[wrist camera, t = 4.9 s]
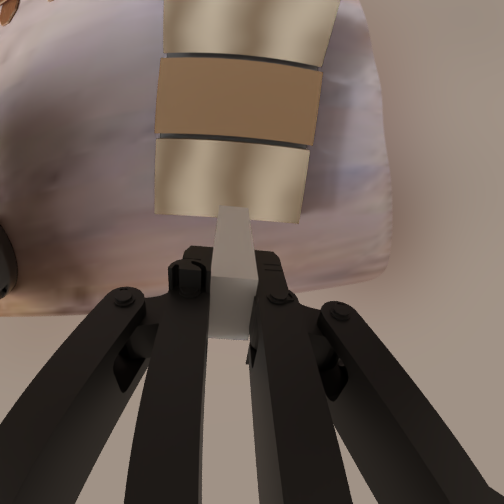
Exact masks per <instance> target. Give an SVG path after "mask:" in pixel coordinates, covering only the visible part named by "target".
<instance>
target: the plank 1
mask: <svg viewBox="0 0 504 504" xmlns="http://www.w3.org/2000/svg"><path fill="white" fill-rule="evenodd" d="M339 3H340V0H164V20H163V49H164V53H186V52H196V53H225V54H239V55H250V56H259V57H267V58H275V59H281V60H288V61H293V62H299V63H304V64H309V65H314V66H319V67H322V64H323V60H324V57H325V53H326V50H327V46H328V43H329V39H330V36H331V32H332V28H333V25H334V21H335V18H336V14H337V11H338V7H339Z"/></svg>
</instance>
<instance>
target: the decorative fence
mask: <svg viewBox="0 0 504 504" xmlns="http://www.w3.org/2000/svg"><path fill="white" fill-rule="evenodd" d="M48 1H49V2H51V1H53V0H48ZM2 4H3V6H2V9H1V13H0V23H1V26H5V25H7V24H8V23H10V21H11V19H12V18H13V16H14V14H15V12H16V11H17V8H18V4H19V0H0V6H1V5H2Z"/></svg>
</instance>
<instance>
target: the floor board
mask: <svg viewBox="0 0 504 504" xmlns="http://www.w3.org/2000/svg"><path fill="white" fill-rule="evenodd" d="M317 67H318V66H314V65H309V64H304V63H299V62H293V61H288V60H281V59H275V58H267V57H259V56H250V55H239V54H225V53H196V52H186V53H167V58H161V61H160V69H159V79H158V89H157V101H156V115H155V133H160V138H194V139H215V140H230V141H242V142H253V143H263V144H272V145H280V146H288V147H295V148H302V149H306V148H307V145H311V146H313V141H314V135H315V128H316V121H317V114H318V107H319V100H320V92H321V84H322V76H323V72H319V71H317Z"/></svg>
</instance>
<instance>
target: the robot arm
mask: <svg viewBox="0 0 504 504" xmlns="http://www.w3.org/2000/svg"><path fill="white" fill-rule="evenodd" d="M168 280H169V291H168V293H166V294H164V295H161V296H157V297H150V298H144V294H143V293H142V292H141V291H140V290H138V289H136V288H133V287H120V288H117V289H114V290H112V291H111V292H109V293H108V294H107V295H106V296H105V297H104V298H103V299H102V300H101V301H100V302H99V303H98V304H97V306H96V307H95V308H94V309H93V310H92V311H91V312H90V313H89V314H88V315H87V316H86V318H85V319H84V320H83V321H82V322H81V323H80V324H79V325H78V326H77V328H76V329H75V330H74V331H73V332H72V333H71V335H70V336H69V337H68V338H67V339H66V340H65V341H64V342H63V344H62V345H61V346H60V347H59V348H58V350H57V351H56V352H55V353H54V354H53V356H52V357H51V358H50V359H49V360H48V362H47V363H46V364H45V366H43V368H42V369H41V370H40V371H39V373H38V374H37V375H36V377H35V378H34V379H33V380H32V382H31V383H30V384H29V386H28V387H27V388H26V389H25V391H24V392H23V393H22V395H21V396H20V397H19V399H18V400H17V402H16V403H15V404H14V406H13V407H12V409H11V410H10V411H9V413H8V414H7V415H6V417H5V418H4V420H3V421H2V423H1V424H0V504H75V502H76V500H77V498H78V496H79V494H80V492H81V490H82V488H83V486H84V484H85V482H86V480H87V478H88V476H89V474H90V472H91V470H92V468H93V466H94V465H95V463H96V461H97V459H98V457H99V455H100V453H101V451H102V449H103V447H104V445H105V443H106V442H107V440H108V438H109V436H110V434H111V432H112V430H113V429H114V427H115V425H116V423H117V421H118V419H119V417H120V416H121V414H122V412H123V410H124V408H125V406H126V405H127V403H128V401H129V399H130V398H131V396H132V394H133V392H134V390H135V389H136V387H137V385H138V383H139V382H140V380H141V378H142V376H143V375H144V373H145V371H146V369H147V367H148V370H147V375H146V379H145V383H144V388H143V392H142V397H141V401H140V407H139V411H138V417H137V421H136V427H135V433H134V438H133V443H132V450H131V456H130V462H129V469H128V475H127V482H126V491H125V499H124V504H202V447H203V446H202V445H203V419H204V397H205V378H206V362H207V345H208V338H218V339H233V340H248V337H249V335H250V344H249V349H248V354H247V360H246V364H249V370H250V386H251V399H252V413H253V427H254V439H255V440H254V441H255V453H256V467H257V479H258V491H259V501H260V504H353V502H352V498H351V495H350V490H349V485H348V482H347V477H346V473H345V469H344V465H343V460H342V457H341V452H340V448H339V444H338V441H337V436H336V432H335V429H334V426H335V428H336V430H337V431H338V433H339V435H340V437H341V439H342V440H343V442H344V444H345V446H346V447H347V449H348V451H349V453H350V454H351V456H352V458H353V460H354V462H355V463H356V465H357V467H358V469H359V471H360V472H361V474H362V476H363V477H364V479H365V481H366V483H367V485H368V486H369V488H370V490H371V492H372V493H373V495H374V497H375V499H376V500H377V502H378V504H504V496H502V495H501V494H499V493H498V492H496V491H495V490H493V489H492V488H490V487H489V486H488V485H487V483H486V482H485V480H484V479H483V477H482V475H481V474H480V472H479V471H478V469H477V468H476V467H475V465H474V464H473V462H472V461H471V459H470V458H469V456H468V455H467V453H466V452H465V450H464V449H463V448H462V446H461V445H460V443H459V442H458V440H457V439H456V438H455V436H454V435H453V434H452V432H451V431H450V429H449V428H448V427H447V425H446V424H445V423H444V421H443V420H442V418H441V417H440V416H439V414H438V413H437V412H436V410H435V409H434V408H433V406H432V405H431V404H430V402H429V401H428V400H427V398H426V397H425V396H424V395H423V393H422V392H421V391H420V389H419V388H418V387H417V385H416V384H415V383H414V382H413V380H412V379H411V378H410V376H409V375H408V374H407V373H406V371H405V370H404V369H403V367H402V366H401V365H400V364H399V362H398V361H397V360H396V359H395V357H393V355H392V354H391V353H390V351H389V350H388V349H387V348H386V346H385V345H384V344H383V343H382V341H381V340H380V339H379V338H378V337H377V335H376V334H375V333H374V332H373V330H372V329H371V328H370V327H369V326H368V324H367V323H366V322H365V321H364V320H363V318H362V317H361V316H360V315H359V314H358V313H357V311H356V310H355V309H353V308H352V307H351V306H349V305H347V304H345V303H343V302H338V301H330V302H327V303H325V304H324V305H323V306H322V308H321V310H318V309H313V308H310V307H307V306H304V305H302V304H300V303H299V301H298V298H297V297H296V295H295V294H294V293H293V292H291V291H290V290H288V287H287V283H286V280H285V276H284V273H283V269H282V266H281V262H280V259H279V257H278V256H277V255H276V254H275V253H274V252H270V251H259V250H254V245H253V238H252V231H251V224H250V217H249V210H248V208H244V207H234V206H223V205H219V211H218V218H217V225H216V233H215V240H214V247H202V246H190V247H189V248H188V249H187V250H185V252H184V255H183V259H181V260H177V261H175V262H173V263H171V265H170V266H169V267H168ZM16 281H17V263H16V259H15V255H14V252H13V249H12V246H11V244H10V241H9V239H8V237H7V235H6V234H5V232H4V230H3V229H2V227H1V226H0V299H2V298H4V297H5V296H6V295H7V294H8V293H9V292H10V291H11V290H12V288H13V287H14V286H15V284H16ZM333 424H334V425H333Z"/></svg>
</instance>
